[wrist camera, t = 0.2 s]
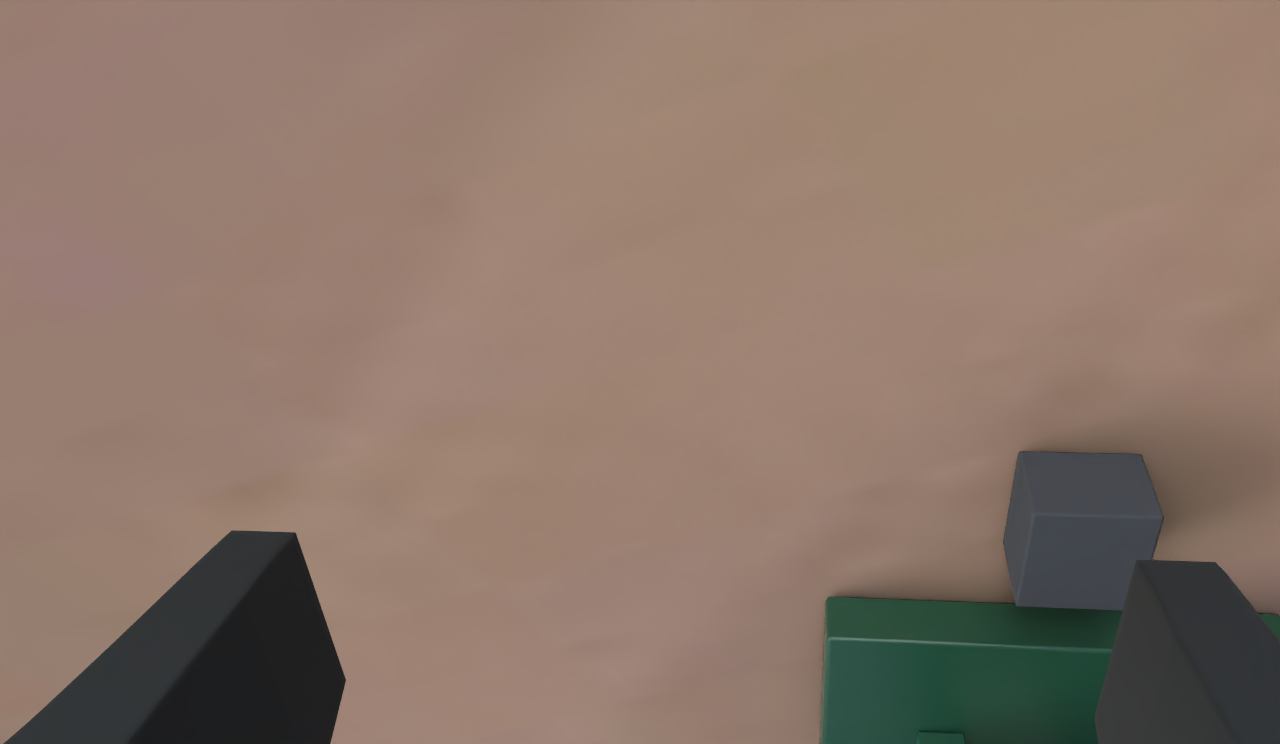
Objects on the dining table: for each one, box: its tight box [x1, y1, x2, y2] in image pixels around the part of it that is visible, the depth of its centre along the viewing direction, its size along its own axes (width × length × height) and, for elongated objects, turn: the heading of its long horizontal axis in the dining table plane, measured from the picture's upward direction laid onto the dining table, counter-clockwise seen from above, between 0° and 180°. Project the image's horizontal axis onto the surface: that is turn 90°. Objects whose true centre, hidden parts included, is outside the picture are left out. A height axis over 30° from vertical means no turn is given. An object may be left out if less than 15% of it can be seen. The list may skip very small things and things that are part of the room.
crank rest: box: [1003, 452, 1164, 611], centre depth 21 cm, size 2×2×2 cm
